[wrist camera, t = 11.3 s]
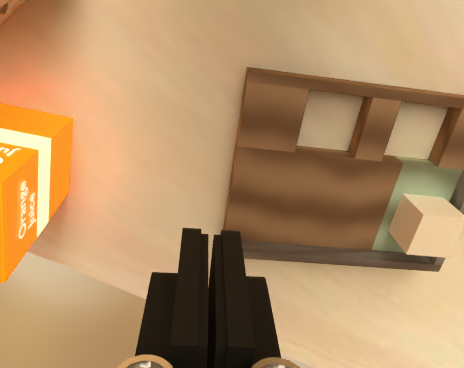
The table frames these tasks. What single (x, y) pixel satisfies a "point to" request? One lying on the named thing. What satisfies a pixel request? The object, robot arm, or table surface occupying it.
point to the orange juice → (30, 177)
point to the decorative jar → (9, 8)
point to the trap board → (334, 174)
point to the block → (426, 225)
